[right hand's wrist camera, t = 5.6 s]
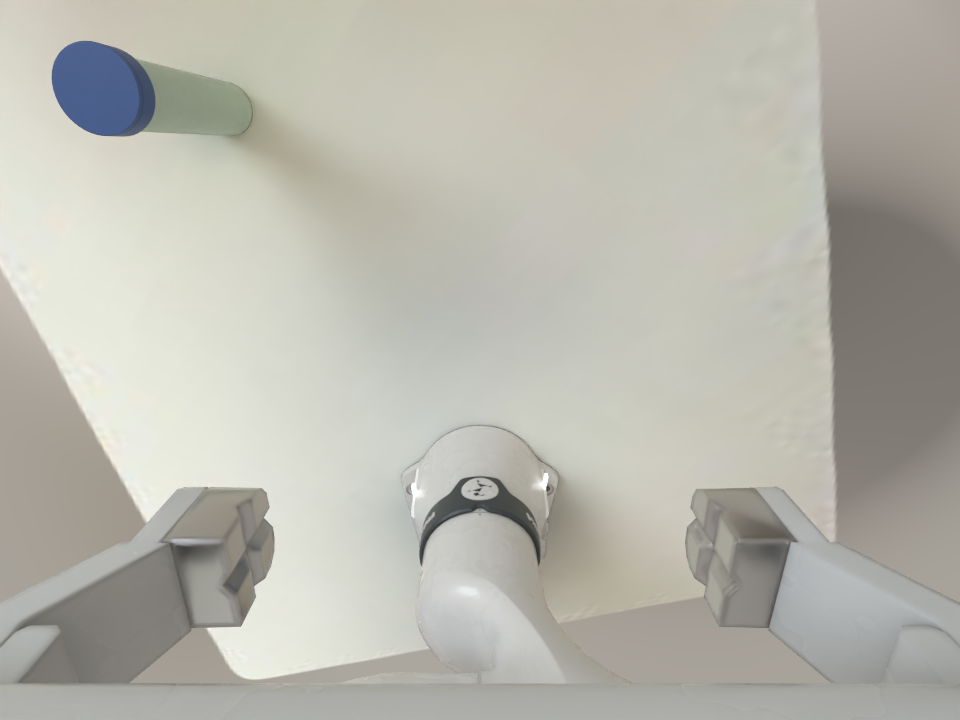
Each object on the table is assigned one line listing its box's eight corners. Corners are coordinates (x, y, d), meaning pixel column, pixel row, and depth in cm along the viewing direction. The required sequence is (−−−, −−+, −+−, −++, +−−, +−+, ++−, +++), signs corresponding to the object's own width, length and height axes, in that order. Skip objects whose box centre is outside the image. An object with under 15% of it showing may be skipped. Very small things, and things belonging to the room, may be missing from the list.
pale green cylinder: (193, 95, 51) (46, 68, 34) (235, 73, 50) (108, 35, 33) (220, 143, 53) (93, 142, 35) (261, 123, 52) (152, 111, 35)
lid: (54, 67, 35) (33, 63, 33) (123, 31, 34) (104, 25, 33) (106, 149, 37) (87, 149, 35) (172, 116, 36) (156, 114, 34)
